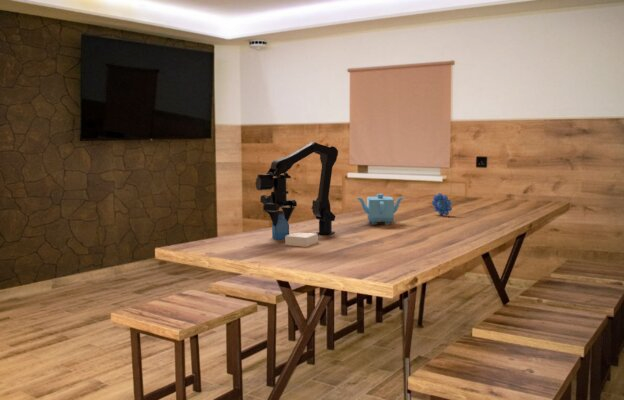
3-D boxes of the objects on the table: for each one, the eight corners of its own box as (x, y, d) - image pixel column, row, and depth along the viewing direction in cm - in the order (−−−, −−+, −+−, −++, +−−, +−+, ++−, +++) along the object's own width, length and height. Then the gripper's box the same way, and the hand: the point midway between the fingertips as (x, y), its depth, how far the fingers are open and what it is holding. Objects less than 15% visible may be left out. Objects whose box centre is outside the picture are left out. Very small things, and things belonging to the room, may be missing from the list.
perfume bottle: (275, 240, 256) (274, 212, 255) (272, 237, 262) (271, 210, 261) (289, 239, 258) (288, 211, 256) (286, 236, 264) (285, 209, 262)
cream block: (296, 241, 255) (296, 232, 254) (317, 243, 250) (317, 233, 250) (285, 245, 246) (285, 235, 245) (306, 247, 241) (306, 237, 241)
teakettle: (382, 227, 287) (383, 196, 285) (353, 223, 300) (353, 194, 298) (406, 222, 300) (407, 193, 298) (377, 219, 313) (377, 191, 311)
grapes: (428, 215, 324) (428, 193, 322) (433, 213, 329) (434, 192, 328) (448, 217, 317) (448, 194, 315) (453, 215, 322) (453, 193, 321)
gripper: (275, 186, 270) (276, 220, 271) (252, 190, 253) (252, 226, 255) (297, 187, 264) (297, 222, 266) (274, 191, 248) (275, 228, 250)
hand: (280, 224), depth 259 cm, fingers closed on perfume bottle, 9 cm apart
